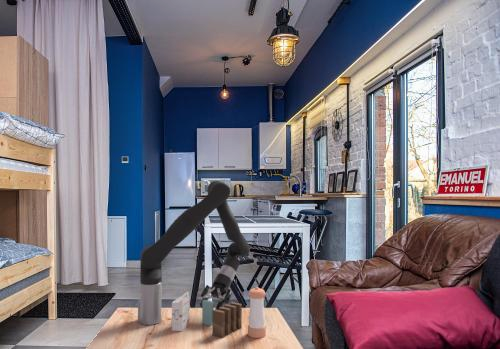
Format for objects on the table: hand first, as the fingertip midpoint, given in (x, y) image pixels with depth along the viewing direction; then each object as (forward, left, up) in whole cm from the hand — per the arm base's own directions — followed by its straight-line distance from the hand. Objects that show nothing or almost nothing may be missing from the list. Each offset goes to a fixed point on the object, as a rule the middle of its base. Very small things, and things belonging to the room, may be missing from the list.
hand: (209, 309), depth 168 cm
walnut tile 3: (+11, -4, -6) cm, 14 cm away
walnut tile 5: (+9, -12, -6) cm, 16 cm away
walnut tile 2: (+13, 0, -6) cm, 14 cm away
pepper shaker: (+24, -5, -7) cm, 25 cm away
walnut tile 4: (+10, -8, -6) cm, 14 cm away
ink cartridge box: (-9, -8, -7) cm, 14 cm away
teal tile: (0, -1, -6) cm, 6 cm away
